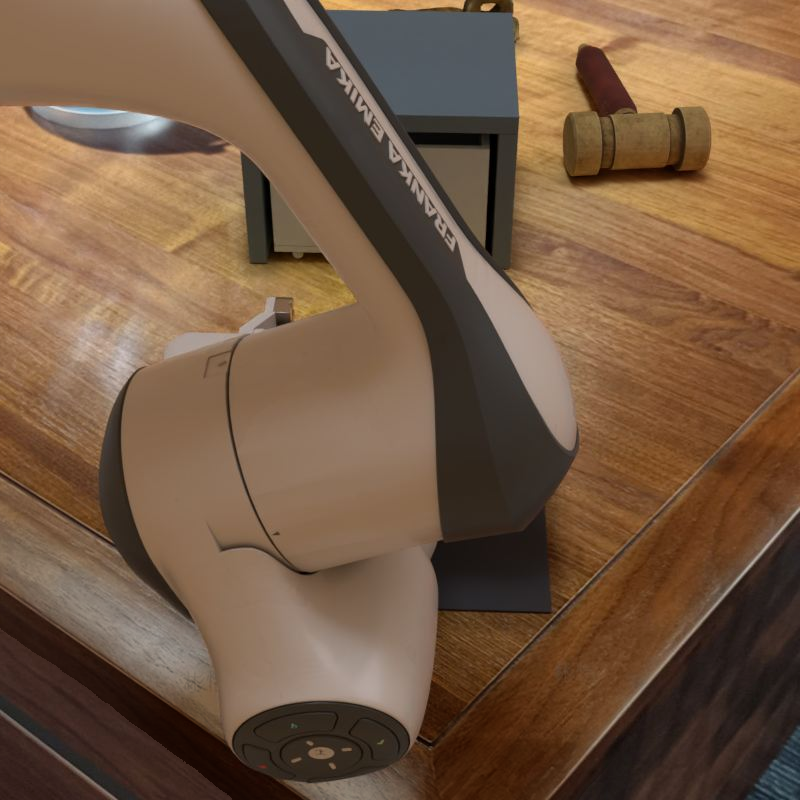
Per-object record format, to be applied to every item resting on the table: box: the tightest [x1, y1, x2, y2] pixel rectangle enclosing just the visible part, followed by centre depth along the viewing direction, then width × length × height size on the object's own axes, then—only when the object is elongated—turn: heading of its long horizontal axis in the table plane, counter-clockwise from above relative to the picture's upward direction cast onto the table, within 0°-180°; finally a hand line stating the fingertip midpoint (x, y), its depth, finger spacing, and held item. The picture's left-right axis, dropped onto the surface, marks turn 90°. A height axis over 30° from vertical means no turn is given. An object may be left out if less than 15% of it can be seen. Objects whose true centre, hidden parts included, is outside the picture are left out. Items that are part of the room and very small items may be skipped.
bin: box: [270, 132, 490, 259], centre depth 90 cm, size 14×17×9 cm
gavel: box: [562, 42, 712, 177], centre depth 106 cm, size 21×5×10 cm
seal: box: [386, 0, 520, 42], centre depth 116 cm, size 9×5×15 cm
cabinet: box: [239, 9, 520, 270], centre depth 93 cm, size 17×16×11 cm
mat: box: [430, 505, 552, 614], centre depth 72 cm, size 18×12×1 cm, turn 88°
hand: (365, 308), depth 75 cm, fingers open, 8 cm apart
